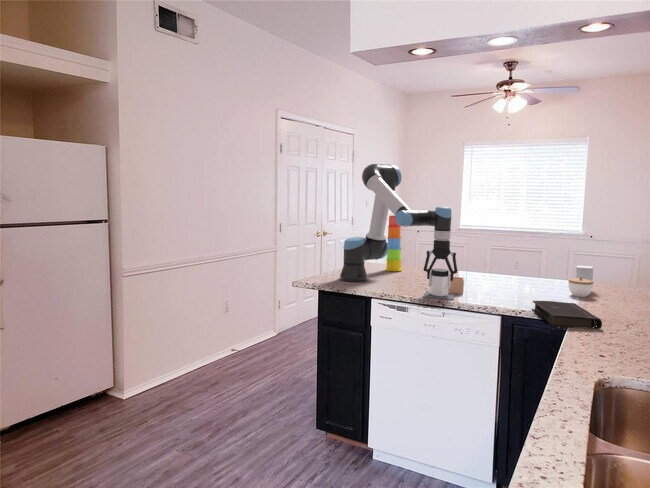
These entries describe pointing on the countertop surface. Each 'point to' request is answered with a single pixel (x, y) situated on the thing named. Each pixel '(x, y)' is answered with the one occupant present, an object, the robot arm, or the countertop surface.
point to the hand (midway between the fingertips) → (439, 286)
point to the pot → (457, 285)
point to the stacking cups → (393, 246)
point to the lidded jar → (580, 286)
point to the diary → (565, 314)
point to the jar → (439, 282)
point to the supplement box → (584, 272)
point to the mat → (449, 297)
